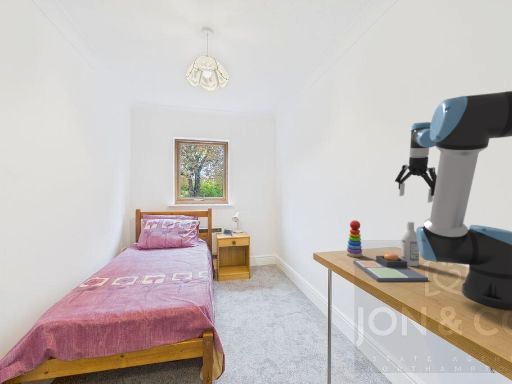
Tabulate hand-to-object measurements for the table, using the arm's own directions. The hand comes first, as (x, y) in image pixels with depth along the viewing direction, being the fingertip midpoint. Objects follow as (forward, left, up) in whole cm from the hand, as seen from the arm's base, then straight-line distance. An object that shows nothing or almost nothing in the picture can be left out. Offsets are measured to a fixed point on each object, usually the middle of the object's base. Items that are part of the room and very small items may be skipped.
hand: (415, 198), depth 120 cm
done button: (-11, +18, -28) cm, 35 cm away
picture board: (-16, +23, -31) cm, 42 cm away
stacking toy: (+8, +27, -31) cm, 42 cm away
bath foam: (-7, +7, -31) cm, 32 cm away
